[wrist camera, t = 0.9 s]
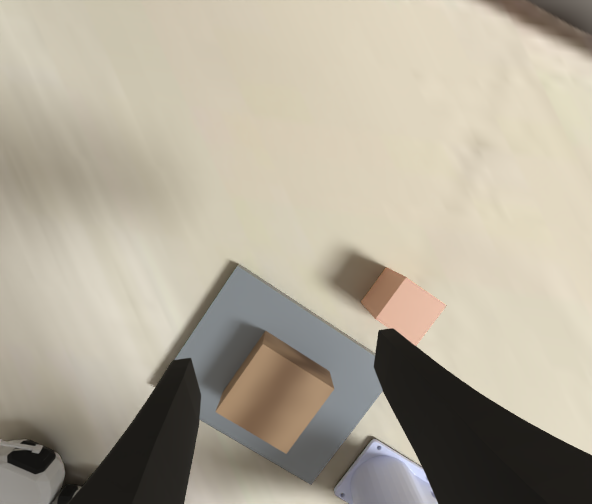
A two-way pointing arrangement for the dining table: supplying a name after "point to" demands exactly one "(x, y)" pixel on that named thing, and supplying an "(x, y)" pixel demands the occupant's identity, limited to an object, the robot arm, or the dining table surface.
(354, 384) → the baseplate
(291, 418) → the walnut block
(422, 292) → the terracotta brick
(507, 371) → the dining table surface
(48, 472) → the robot toy
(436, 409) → the robot arm
